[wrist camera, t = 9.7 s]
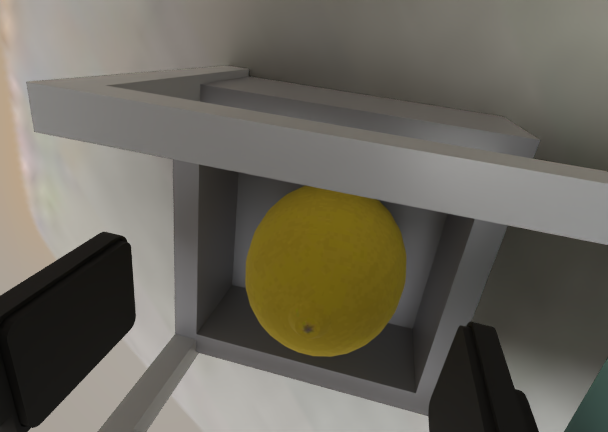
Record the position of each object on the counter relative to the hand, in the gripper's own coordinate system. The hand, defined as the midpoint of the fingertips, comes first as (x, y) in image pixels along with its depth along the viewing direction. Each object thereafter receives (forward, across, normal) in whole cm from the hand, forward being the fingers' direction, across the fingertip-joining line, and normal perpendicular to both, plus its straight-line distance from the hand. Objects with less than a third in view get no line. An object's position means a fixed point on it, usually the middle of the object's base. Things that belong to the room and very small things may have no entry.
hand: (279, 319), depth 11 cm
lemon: (+8, 0, 0) cm, 8 cm away
